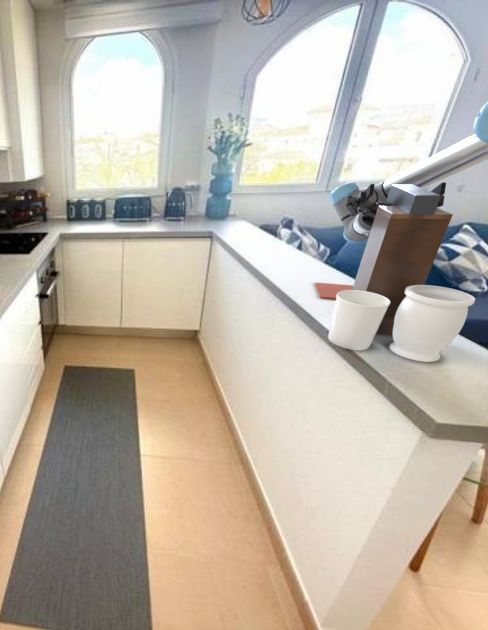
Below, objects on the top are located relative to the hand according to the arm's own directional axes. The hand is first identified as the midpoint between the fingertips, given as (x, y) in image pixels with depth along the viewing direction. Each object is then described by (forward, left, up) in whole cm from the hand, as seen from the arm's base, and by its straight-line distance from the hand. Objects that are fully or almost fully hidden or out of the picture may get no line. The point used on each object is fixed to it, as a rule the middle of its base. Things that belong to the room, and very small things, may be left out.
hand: (406, 188), depth 84 cm
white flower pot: (+7, +20, -34) cm, 40 cm away
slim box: (0, +4, -4) cm, 6 cm away
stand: (0, +8, -34) cm, 35 cm away
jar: (-5, +21, -34) cm, 40 cm away
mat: (+4, -14, -34) cm, 37 cm away
